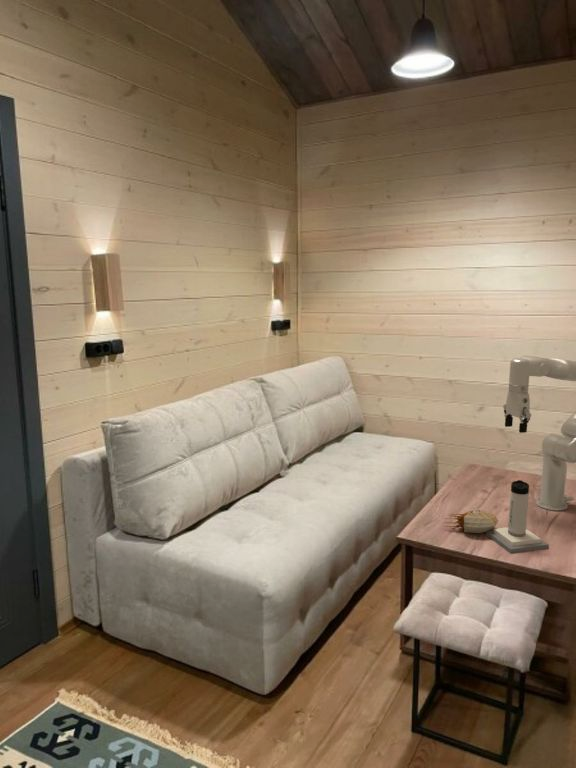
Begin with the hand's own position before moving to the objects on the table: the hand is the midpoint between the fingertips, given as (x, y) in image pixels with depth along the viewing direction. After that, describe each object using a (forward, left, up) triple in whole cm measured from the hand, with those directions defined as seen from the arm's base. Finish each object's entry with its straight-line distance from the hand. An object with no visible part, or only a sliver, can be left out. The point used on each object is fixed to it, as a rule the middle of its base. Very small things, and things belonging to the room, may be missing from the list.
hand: (515, 429), depth 242 cm
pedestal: (+14, +25, -36) cm, 46 cm away
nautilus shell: (+26, +12, -36) cm, 46 cm away
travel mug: (+14, +25, -34) cm, 44 cm away
